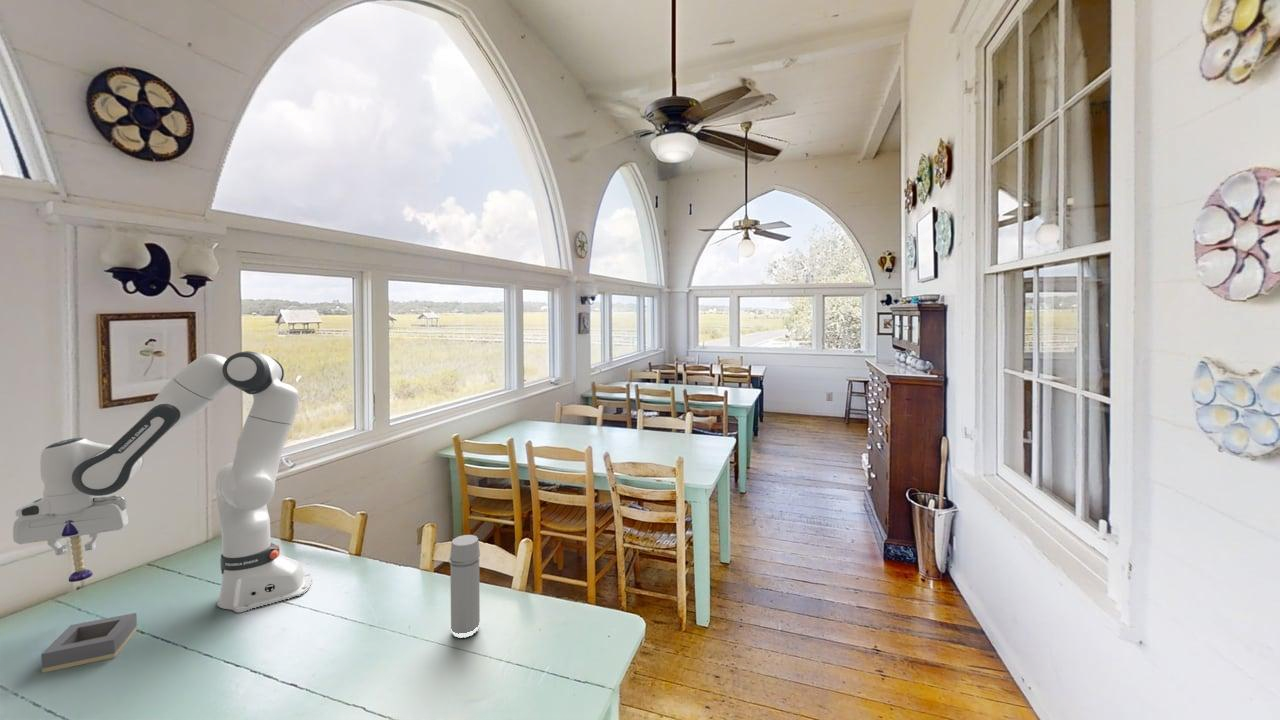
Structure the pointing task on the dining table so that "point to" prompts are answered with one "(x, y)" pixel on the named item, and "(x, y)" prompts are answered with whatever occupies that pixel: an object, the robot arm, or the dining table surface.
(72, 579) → the toy lamp
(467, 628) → the water bottle
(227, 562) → the robot arm
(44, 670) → the socket block
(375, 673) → the dining table surface
